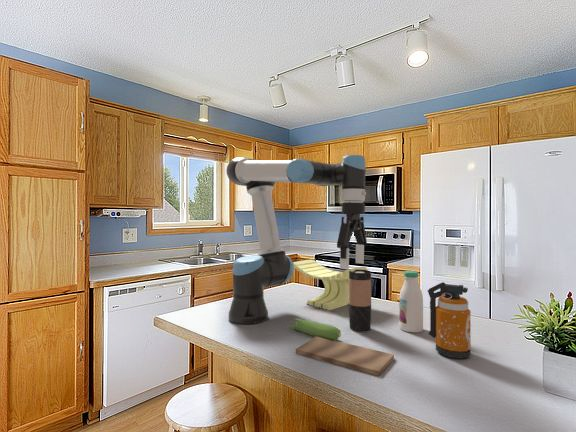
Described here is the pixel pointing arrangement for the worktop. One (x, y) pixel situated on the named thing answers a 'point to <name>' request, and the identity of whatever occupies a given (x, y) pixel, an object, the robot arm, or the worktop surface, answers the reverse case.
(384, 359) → the serving board
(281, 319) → the worktop surface
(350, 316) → the travel mug
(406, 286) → the milk bottle
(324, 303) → the slatted curved stool
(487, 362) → the worktop surface
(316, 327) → the edible corn
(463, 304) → the canister
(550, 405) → the worktop surface
